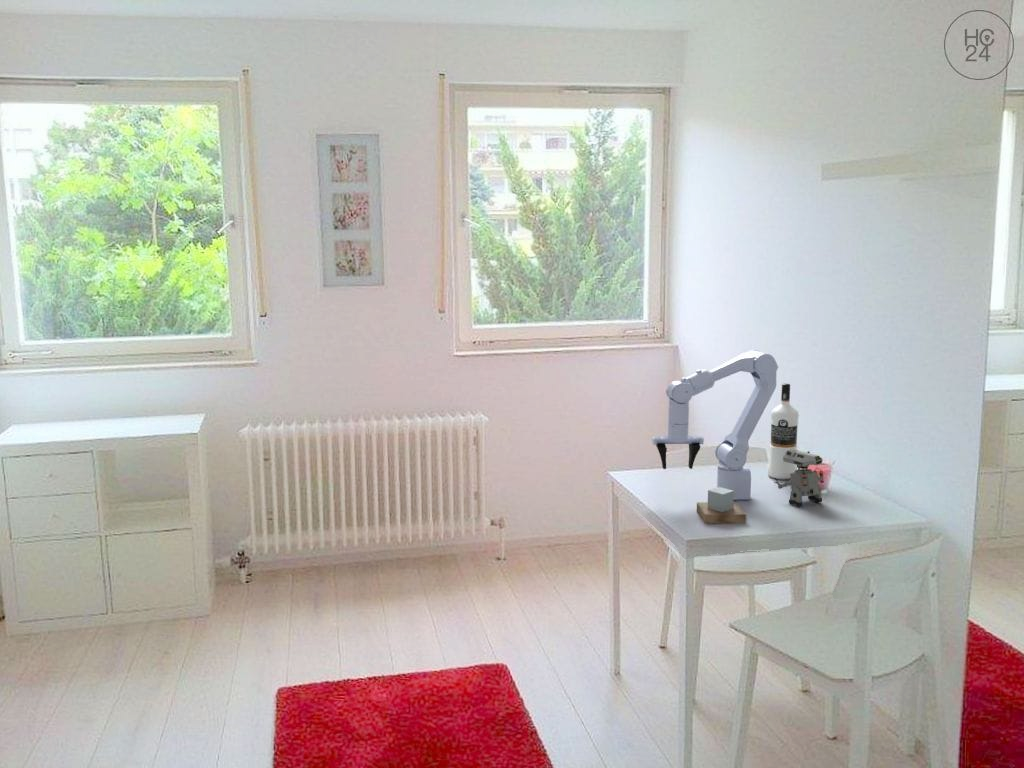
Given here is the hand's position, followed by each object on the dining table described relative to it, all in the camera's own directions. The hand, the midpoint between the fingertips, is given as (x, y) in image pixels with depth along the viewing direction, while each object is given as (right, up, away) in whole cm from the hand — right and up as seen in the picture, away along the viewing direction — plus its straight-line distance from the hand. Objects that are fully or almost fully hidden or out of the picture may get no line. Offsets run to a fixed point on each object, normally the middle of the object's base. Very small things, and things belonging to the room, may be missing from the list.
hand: (677, 468), depth 269 cm
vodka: (+38, -5, +25) cm, 45 cm away
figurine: (+35, -10, -2) cm, 37 cm away
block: (+9, -10, -15) cm, 20 cm away
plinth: (+9, -12, -15) cm, 21 cm away
